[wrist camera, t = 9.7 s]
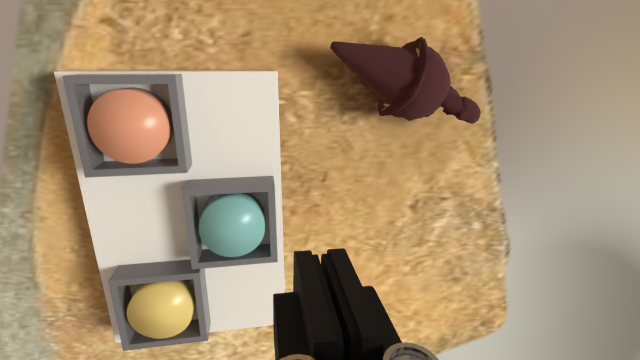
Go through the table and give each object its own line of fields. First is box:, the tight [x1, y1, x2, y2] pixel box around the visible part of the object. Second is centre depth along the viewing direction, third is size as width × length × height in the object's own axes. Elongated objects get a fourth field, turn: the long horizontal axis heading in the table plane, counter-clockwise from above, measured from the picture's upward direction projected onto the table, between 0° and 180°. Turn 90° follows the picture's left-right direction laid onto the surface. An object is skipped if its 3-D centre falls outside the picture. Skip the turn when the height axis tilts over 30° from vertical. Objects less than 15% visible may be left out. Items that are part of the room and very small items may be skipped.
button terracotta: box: [87, 87, 174, 164], centre depth 28 cm, size 6×6×2 cm
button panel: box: [54, 70, 285, 351], centre depth 33 cm, size 26×17×6 cm, turn 0°
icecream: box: [330, 37, 480, 124], centre depth 32 cm, size 7×7×15 cm
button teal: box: [199, 193, 265, 257], centre depth 32 cm, size 6×6×2 cm
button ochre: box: [127, 280, 196, 339], centre depth 33 cm, size 6×6×2 cm
